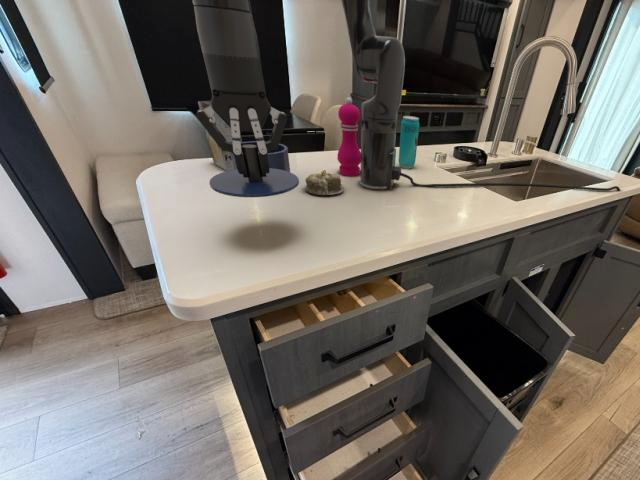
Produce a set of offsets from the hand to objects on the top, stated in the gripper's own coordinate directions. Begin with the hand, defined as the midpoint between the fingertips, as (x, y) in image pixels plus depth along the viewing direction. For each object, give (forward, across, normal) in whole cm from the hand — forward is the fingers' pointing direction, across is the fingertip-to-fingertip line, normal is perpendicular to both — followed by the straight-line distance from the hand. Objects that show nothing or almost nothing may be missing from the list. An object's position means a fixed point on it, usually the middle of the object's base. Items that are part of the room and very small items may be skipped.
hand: (255, 175), depth 56 cm
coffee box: (+12, -6, +47) cm, 49 cm away
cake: (+12, +16, +23) cm, 30 cm away
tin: (+11, +2, +32) cm, 34 cm away
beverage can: (+12, +48, +42) cm, 65 cm away
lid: (+1, 0, 0) cm, 1 cm away
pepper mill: (+12, +27, +37) cm, 48 cm away
